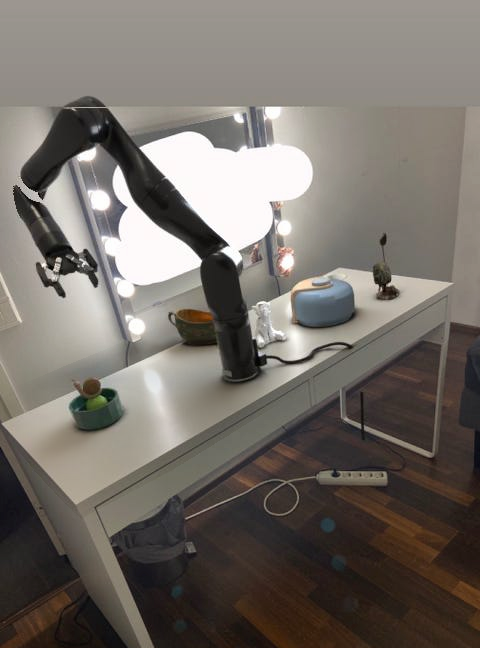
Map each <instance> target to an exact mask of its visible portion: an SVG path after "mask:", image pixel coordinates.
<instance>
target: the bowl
mask: <svg viewBox="0 0 480 648" xmlns="http://www.w3.org/2000/svg"><path fill="white" fill-rule="evenodd" d="M100 389H102V392H101V394H100V396H103V397H104V398H106V400H107V401H108V403H107V404H106V405H104V406H102V407H99V408H97V409H93V410H89V411H87V407H86V404H87V401H88V400H89V399H87V398H84V397H83V396H81V394H80V393H79V395H77V396H76V397H74V398H73V399H72V400H71V401H70V402H69V404H68V410H69V412H70V415H71V418H72V419H73V422H74V425H75V426H76V427H77V428H78V429H82V430H84V431H85V430H86V431H95V430H100V429H103V428H106V427H108V426H111V425H112V424H114V423H116V422H118V420H119V419H120V418H121V417H122V415H123V414H124V407H123V404H122V400H121V396H120V394H119V391H118V390H117V389H115V388H111V387H100Z"/></svg>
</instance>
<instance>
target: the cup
mask: <svg viewBox="0 0 480 648" xmlns="http://www.w3.org/2000/svg"><path fill="white" fill-rule="evenodd" d="M172 316H174V320H173V318H172ZM167 319H168V321H169V322H170V323H171V324H172V326H174V327H175V328H176V330H177V332H178V334H179V336H180V337H181V339H183V341H185V343H186V344H188V345H190V346H191V345H192V346H194V345H195V346H201V345H202V346H203V345H212V344H218V343H217V338H216V333H215V328H214V324H213V319H212V314H211V311H206V310H201V309H197V308H180V309H178V310H176V311H169V312H168V314H167ZM174 321H175V322H174Z"/></svg>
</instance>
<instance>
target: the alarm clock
mask: <svg viewBox="0 0 480 648" xmlns="http://www.w3.org/2000/svg"><path fill="white" fill-rule="evenodd" d="M289 299H290V307H291V315H292V323H293V324H300V325H302V326H305V327H309V328H311V327H312V328H324V327H331V326H336V325H339V324H343V323H345V322H347V321H348V320H350V319H351V317H352V316H353V313H354V312H355V311H356V303H355V292H354V288H353V286H352V285H351V284H350V283H349V282H348V281H346V280H342V279H338V278H329V277H326V276H324V275H320V276H315V277H310V278H307V279H303V280H301V281H299V282H298V283H297V284H296V285H295V286H294V287H293V288H292V289H291V291H290V297H289Z"/></svg>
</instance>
